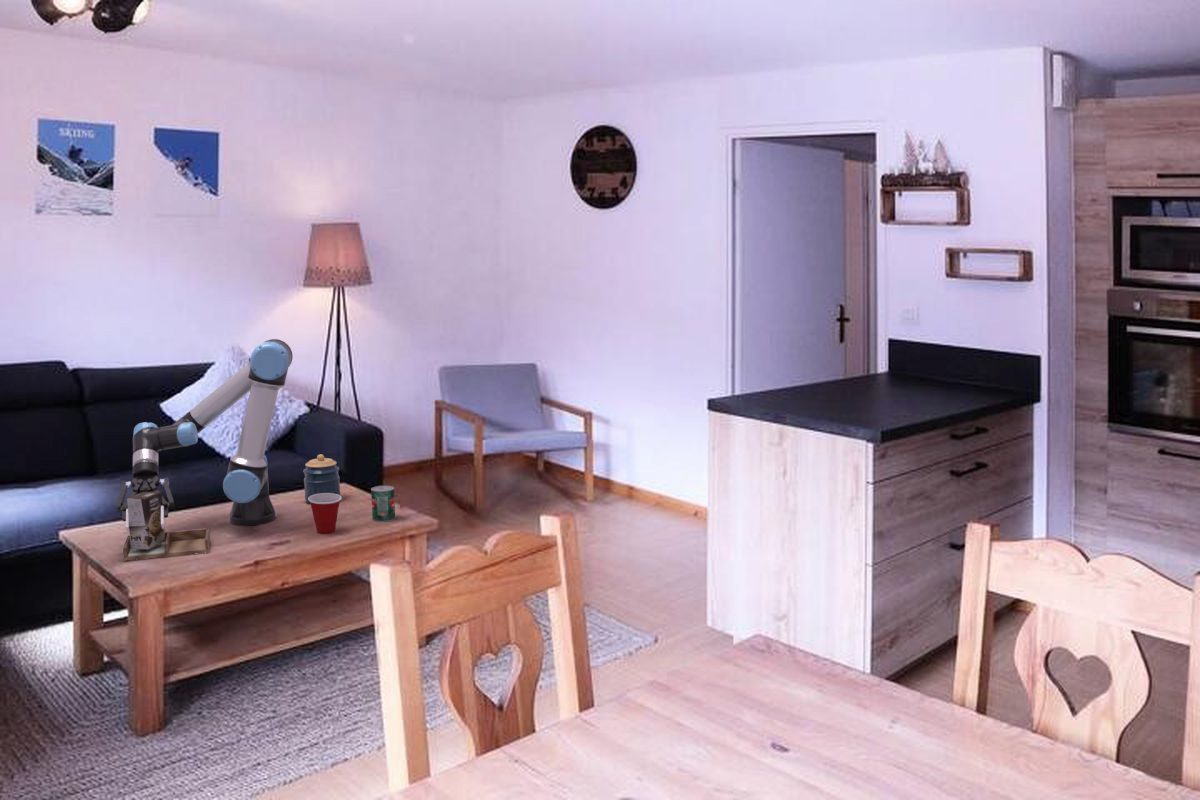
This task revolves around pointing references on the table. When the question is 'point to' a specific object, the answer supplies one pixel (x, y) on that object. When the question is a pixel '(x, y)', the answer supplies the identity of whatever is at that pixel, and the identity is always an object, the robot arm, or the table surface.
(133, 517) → the coffee box
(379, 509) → the canned tomato
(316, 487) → the canister
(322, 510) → the plastic cup
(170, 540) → the tray
